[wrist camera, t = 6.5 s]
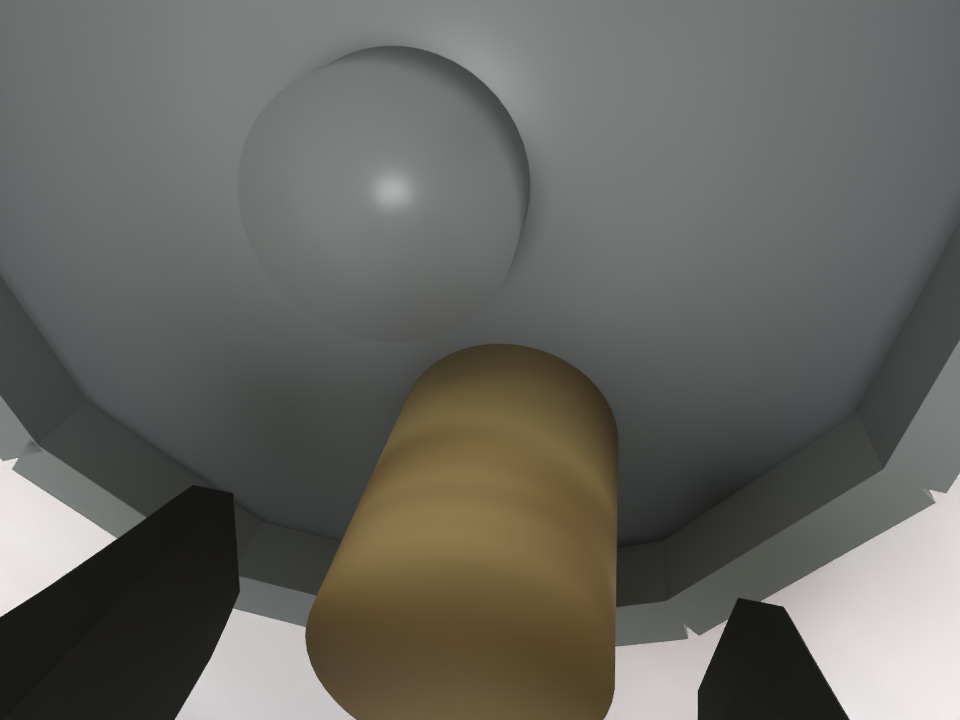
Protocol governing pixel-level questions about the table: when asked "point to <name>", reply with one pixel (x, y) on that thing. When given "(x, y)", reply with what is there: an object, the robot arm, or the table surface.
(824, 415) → the ring tray
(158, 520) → the robot arm
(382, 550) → the tan wooden cylinder
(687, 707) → the table surface
